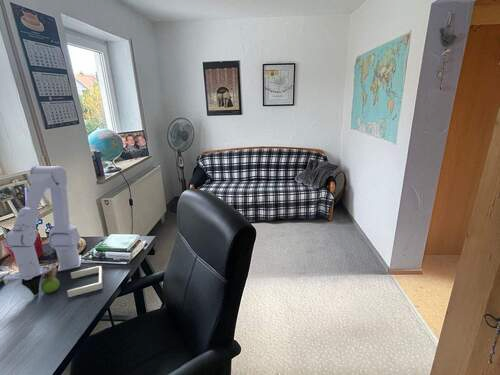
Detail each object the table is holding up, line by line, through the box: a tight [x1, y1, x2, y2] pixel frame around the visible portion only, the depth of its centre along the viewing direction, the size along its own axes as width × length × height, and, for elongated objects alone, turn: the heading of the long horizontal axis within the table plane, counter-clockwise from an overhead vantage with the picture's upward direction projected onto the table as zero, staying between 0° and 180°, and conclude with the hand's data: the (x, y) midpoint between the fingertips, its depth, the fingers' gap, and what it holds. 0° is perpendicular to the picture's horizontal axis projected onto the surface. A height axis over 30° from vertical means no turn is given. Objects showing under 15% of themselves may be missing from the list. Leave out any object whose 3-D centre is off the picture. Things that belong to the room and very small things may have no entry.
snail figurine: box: [40, 263, 60, 294], centre depth 98 cm, size 5×6×12 cm
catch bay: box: [66, 265, 103, 298], centre depth 104 cm, size 13×11×2 cm
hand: (36, 293), depth 98 cm, fingers closed
